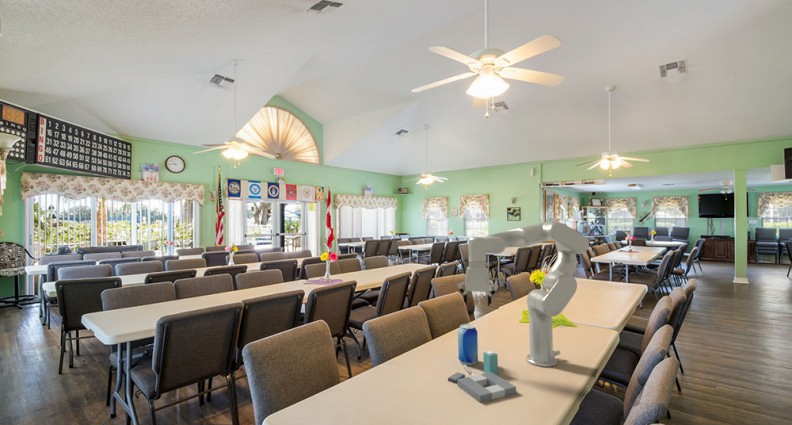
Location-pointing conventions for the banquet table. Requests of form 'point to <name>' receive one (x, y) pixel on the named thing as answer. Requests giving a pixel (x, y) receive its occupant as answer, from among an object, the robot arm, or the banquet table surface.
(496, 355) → the block
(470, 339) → the beer can
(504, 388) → the socket plate
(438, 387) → the banquet table surface
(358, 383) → the banquet table surface
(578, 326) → the banquet table surface
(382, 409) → the banquet table surface
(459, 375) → the phone
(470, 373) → the cable
